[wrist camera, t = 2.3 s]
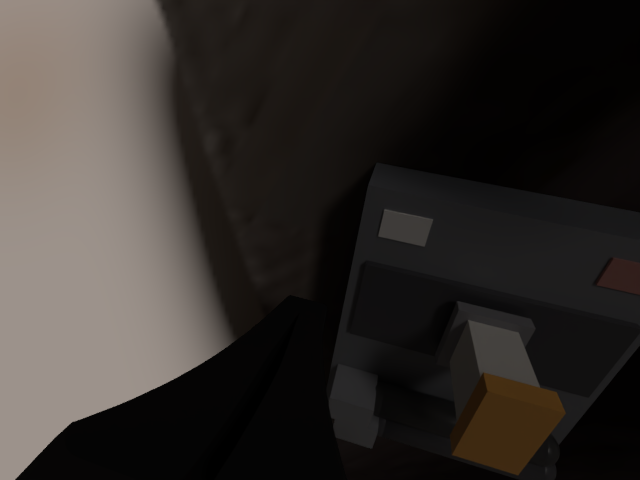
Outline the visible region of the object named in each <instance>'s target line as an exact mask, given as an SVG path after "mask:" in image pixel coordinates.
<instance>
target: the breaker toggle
mask: <svg viewBox="0 0 640 480" xmlns="http://www.w3.org/2000/svg"><path fill="white" fill-rule="evenodd" d="M534 331H535V326H534V324H533V322H532V320H531V319H529V318H525V317H521V316H517V315H513V314H509V313H505V312H501V311H497V310H493V309H488V308H484V307H480V306H476V305H472V304H468V303H464V302H460V301H457V302H456V305H455V307H454V310H453V312H452V314H451V317H450V319H449V322H448V324H447V327H446V329H445V331H444V334H443V336H442V339H441V341H440V344H439V346H438V348H437V351H436V353H435V359H436V364H437V365H441V366H444V367H448V368H450V369H451V378H452V386H453V394H454V402H455V411H456V419H457V423H456V425H455V427H454V428H453V430H452V432H451V434H450V440H451V451H452V455H454V456H457V457H460V458H464V459H467V460H470V461H473V462H476V463H480V464H483V465H486V466H489V467H492V468H496V469H499V470H502V471H505V472H509V473H512V474H515V475H519V473H520V472H521V471H522V470H523V468H524V467H525V466H526V464H527V463H528V462H529V461H530V459H531V458H532V457H533V455H534V454H535V453H536V451H537V450H538V449H539V448H540V446H541V445H542V444H543V442H544V441H545V440H546V438H547V437H548V436H549V435H550V433H551V432H552V431H553V429H554V428H555V427H556V426H557V424H558V423H559V422H560V420H561V419H562V418H563V416H564V415H565V414H566V412H565V410H564V408H563V405H562V403H561V401H560V398H559V396H558V394H557V392H554V391H550V390H547V389H543V388H540V386H539V383H538V381H537V378H536V375H535V373H534V370H533V368H532V365H531V363H530V360H529V358H528V355H527V352H526V350H525V346H526V345H527V343H528V341H529V340H530V338H531V336H532V335H533V333H534Z"/></svg>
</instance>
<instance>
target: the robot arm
mask: <svg viewBox="0 0 640 480" xmlns="http://www.w3.org/2000/svg"><path fill="white" fill-rule="evenodd" d="M326 314H327V306H326V305H325V304H322V303H318V302H314V301H311V300H307V299H303V298H299V297H295V296H291V295H290V296H288V297H286V298H285V299H284V300H283V301H282V302H281V303H280V304H279V305H278V306H277V307H276V308H275V309H274V310H273V311H272V312H271V313H270V314H268V315H267V316H266V317H265V318H264V319H263V320H261V321H260V322H259V323H258V324H257V325H255V326H254V327H253V328H252V329H251V330H250V331H248V332H247V333H246V334H244V335H243V336H242V337H240V338H239V339H238V340H236V341H235V342H233V343H232V344H231V345H229V346H228V347H227V348H225V349H224V350H222V351H221V352H219V353H218V354H216V355H215V356H213V357H212V358H210V359H208V360H207V361H205V362H204V363H202V364H200V365H199V366H197V367H195V368H193V369H192V370H190V371H188V372H186V373H184V374H183V375H181V376H179V377H178V378H176V379H174V380H172V381H170V382H168V383H166V384H164V385H162V386H160V387H157V388H155V389H153V390H151V391H149V392H147V393H145V394H143V395H140V396H138V397H136V398H134V399H132V400H129V401H127V402H125V403H122V404H120V405H117V406H115V407H112V408H110V409H107V410H105V411H102V412H99V413H96V414H94V415H91V416H89V417H86V418H83V419H81V420H78V421H75V422H72V423H71V424H70V425H69V426H68V427H67V428H65V429H64V430H63V432H61V433H60V434H59V435H58V436H57V437H56V438H54V440H53V441H52V442H51V443H50V444H49V445H48V446H47V447H46V448H45V449H44V450H43V451H42V452H41V453H40V454H39V455H38V456H37V457H36V458H35V460H33V462H32V463H31V464H30V465H29V466H28V467H27V468H26V469H25V470H24V471H23V472H22V473H21V474H20V475H19V476H18V477H17V478H16V479H15V480H347V478H346V474H345V471H344V468H343V464H342V461H341V457H340V453H339V449H338V445H337V441H336V437H335V433H334V429H333V424H332V419H331V414H330V409H329V404H328V398H327V391H326V384H325V375H324V363H323V331H324V325H325V319H326Z"/></svg>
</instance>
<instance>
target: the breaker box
mask: <svg viewBox="0 0 640 480" xmlns="http://www.w3.org/2000/svg"><path fill="white" fill-rule="evenodd" d="M457 301H460V302H464V303H468V304H472V305H476V306H480V307H484V308H488V309H493V310H497V311H501V312H505V313H509V314H513V315H517V316H521V317H525V318H529V319H531V320H532V322H533V324H534V326H535V331H534V333H533V335H532V336H531V338H530V340H529V341H528V343H527V345H526V346H525V350H526V352H527V355H528V358H529V360H530V363H531V365H532V368H533V370H534V373H535V375H536V378H537V381H538V383H539V386H540V388H543V389H547V390H550V391H554V392H557V394H558V396H559V398H560V401H561V403H562V405H563V408H564V410H565V412H566V414H565V415H564V416H563V418H562V419H561V420H560V422H559V423H558V424H557V426H556V427H555V428H554V429H553V431H552V432H551V433H550V435H549V436H548V437H547V438H546V440H545V441H544V442H543V444H542V445H541V446H540V448H539V449H538V450H537V451H536V453H535V454H534V455H533V457H532V458H531V459H530V461H529V462H528V463H527V464H526V466H525V467H524V468H523V470H522V471H521V472H520V473H519V475H515V474H512V473H509V472H505V471H502V470H499V469H496V468H492V467H489V466H486V465H483V464H480V463H476V462H473V461H470V460H467V459H464V458H460V457H457V456H454V455H452V451H451V440H450V434H451V432H452V430H453V428H454V427H455V425H456V423H457V419H456V411H455V402H454V394H453V386H452V378H451V369H450V368H448V367H444V366H441V365H437V364H436V359H435V353H436V351H437V348H438V346H439V344H440V341H441V339H442V336H443V334H444V331H445V329H446V327H447V324H448V322H449V319H450V317H451V314H452V312H453V310H454V307H455V305H456V302H457ZM639 346H640V213H639V212H634V211H629V210H623V209H618V208H613V207H608V206H602V205H597V204H592V203H587V202H581V201H576V200H571V199H566V198H560V197H555V196H550V195H545V194H539V193H534V192H529V191H524V190H518V189H513V188H508V187H503V186H497V185H492V184H487V183H482V182H476V181H471V180H466V179H461V178H455V177H450V176H445V175H440V174H435V173H429V172H424V171H419V170H414V169H408V168H403V167H398V166H393V165H387V164H382V163H376V165H375V168H374V171H373V174H372V176H371V179H370V182H369V184H368V188H367V193H366V198H365V203H364V208H363V213H362V218H361V222H360V227H359V232H358V237H357V242H356V247H355V252H354V257H353V261H352V266H351V271H350V276H349V281H348V286H347V291H346V296H345V300H344V305H343V310H342V315H341V320H340V325H339V330H338V335H337V339H336V344H335V349H334V354H333V359H332V364H331V369H330V373H329V378H328V383H327V388H326V391H327V398H328V400H329V409H330V414H331V418H334V419H335V420H334V425H333V429H334V433H335V437H336V438H339V439H343V440H346V441H349V442H352V443H355V444H358V445H361V446H365V447H368V448H371V449H372V447H373V444H374V441H375V439H376V436H377V435H378V436H381V437H384V438H387V439H390V440H393V441H397V442H400V443H403V444H406V445H409V446H413V447H416V448H419V449H422V450H425V451H429V452H432V453H435V454H438V455H441V456H445V457H448V458H451V459H454V460H458V461H461V462H464V463H467V464H470V465H474V466H477V467H480V468H483V469H486V470H490V471H493V472H496V473H499V474H502V475H506V476H509V477H512V478H515V479H518V480H555V478H556V473H557V471H556V465H555V463H556V462H557V461H558V459H559V456H560V448H559V444H560V443H561V442H562V440H563V439H564V438H565V437H566V435H567V434H568V433H569V432H570V431H571V429H572V428H573V427H574V426H575V424H576V423H577V422H578V421H579V419H580V418H581V417H582V416H583V415H584V413H585V412H586V411H587V410H588V408H589V407H590V406H591V405H592V404H593V402H594V401H595V400H596V399H597V397H598V396H599V395H600V394H601V392H602V391H603V390H604V389H605V388H606V386H607V385H608V384H609V383H610V381H611V380H612V379H613V378H614V377H615V375H616V374H617V373H618V372H619V370H620V369H621V368H622V367H623V365H624V364H625V363H626V362H627V361H628V359H629V358H630V357H631V356H632V354H633V353H634V352H635V351H636V349H637V348H638V347H639Z"/></svg>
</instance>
